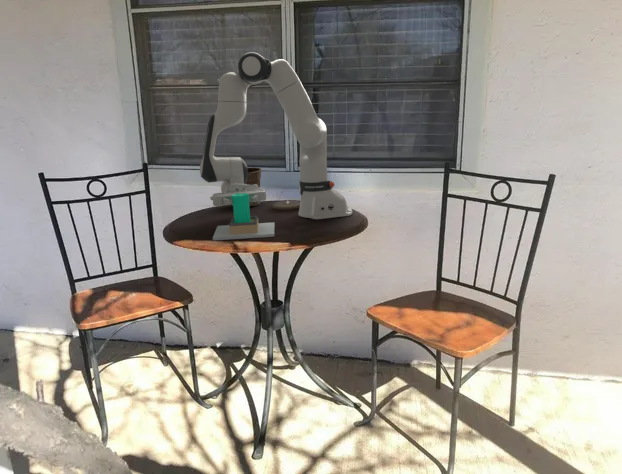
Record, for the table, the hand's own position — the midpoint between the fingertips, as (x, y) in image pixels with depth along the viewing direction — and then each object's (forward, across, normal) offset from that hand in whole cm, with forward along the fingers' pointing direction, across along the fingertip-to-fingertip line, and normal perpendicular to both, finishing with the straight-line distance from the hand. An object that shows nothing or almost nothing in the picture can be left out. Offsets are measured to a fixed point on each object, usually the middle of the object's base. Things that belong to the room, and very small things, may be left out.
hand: (242, 201), depth 185 cm
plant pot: (-46, +9, +12) cm, 48 cm away
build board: (-1, 0, +12) cm, 12 cm away
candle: (-1, 0, +8) cm, 8 cm away
